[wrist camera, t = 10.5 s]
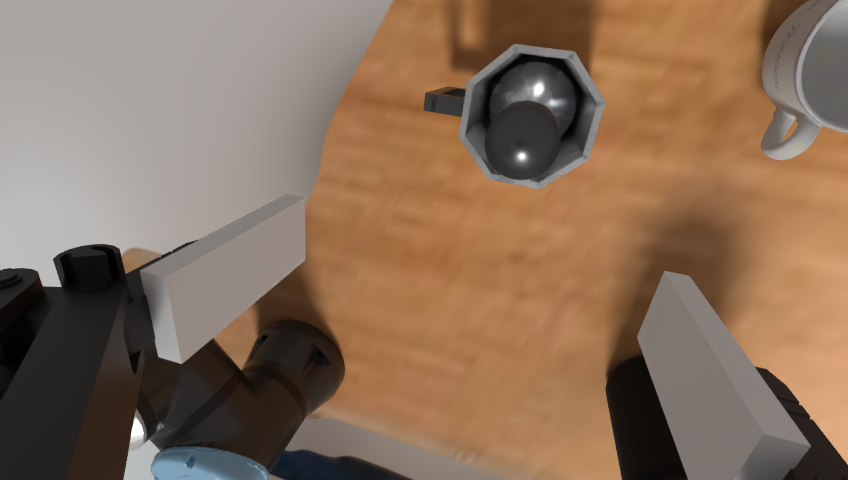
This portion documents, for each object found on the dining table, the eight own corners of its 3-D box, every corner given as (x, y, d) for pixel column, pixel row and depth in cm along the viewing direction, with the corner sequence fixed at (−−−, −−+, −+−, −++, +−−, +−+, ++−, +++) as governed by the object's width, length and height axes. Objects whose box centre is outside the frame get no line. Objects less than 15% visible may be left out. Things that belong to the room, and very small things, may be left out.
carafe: (445, 140, 46) (412, 167, 34) (460, 38, 41) (427, 29, 30) (570, 162, 43) (579, 199, 32) (600, 56, 38) (623, 54, 27)
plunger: (483, 140, 42) (440, 198, 24) (499, 56, 38) (461, 53, 21) (562, 154, 40) (576, 226, 23) (585, 68, 37) (623, 75, 19)
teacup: (846, -52, 31) (934, -84, 24) (941, 42, 32) (1053, 37, 25) (686, 95, 38) (719, 103, 31) (768, 171, 39) (818, 196, 32)
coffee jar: (591, 400, 54) (611, 540, 38) (624, 339, 50) (662, 471, 34) (674, 428, 53) (730, 587, 37) (716, 368, 48) (801, 521, 32)
